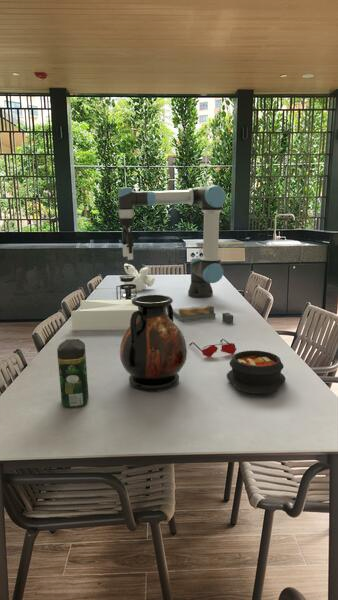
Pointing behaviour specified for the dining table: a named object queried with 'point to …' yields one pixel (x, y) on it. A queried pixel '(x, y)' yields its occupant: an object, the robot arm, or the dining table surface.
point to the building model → (103, 315)
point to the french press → (127, 289)
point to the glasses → (212, 349)
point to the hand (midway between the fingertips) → (127, 258)
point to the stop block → (227, 318)
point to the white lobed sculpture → (139, 278)
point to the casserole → (256, 372)
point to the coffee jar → (73, 373)
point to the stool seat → (192, 316)
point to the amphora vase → (153, 345)
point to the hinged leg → (196, 311)
